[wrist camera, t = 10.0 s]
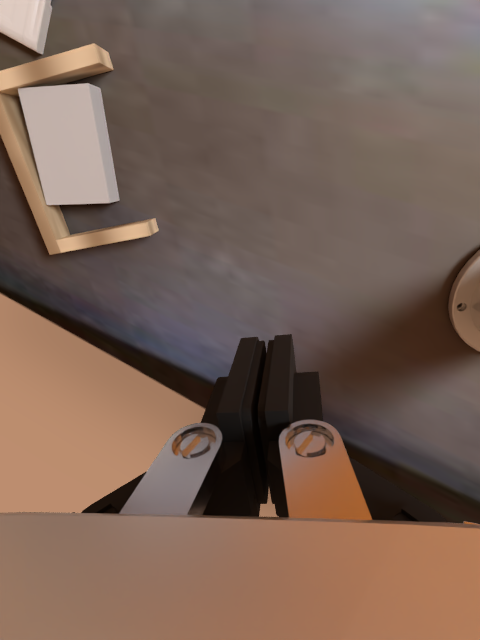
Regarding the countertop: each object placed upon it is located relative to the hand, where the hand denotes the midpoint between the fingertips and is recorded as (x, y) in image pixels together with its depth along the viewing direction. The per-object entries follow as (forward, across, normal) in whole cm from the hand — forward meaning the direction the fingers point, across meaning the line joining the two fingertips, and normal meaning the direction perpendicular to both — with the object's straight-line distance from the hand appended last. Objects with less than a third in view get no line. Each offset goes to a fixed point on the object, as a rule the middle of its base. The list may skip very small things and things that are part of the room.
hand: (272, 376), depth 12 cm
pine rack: (+23, +17, -10) cm, 30 cm away
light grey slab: (+23, +18, -11) cm, 31 cm away
